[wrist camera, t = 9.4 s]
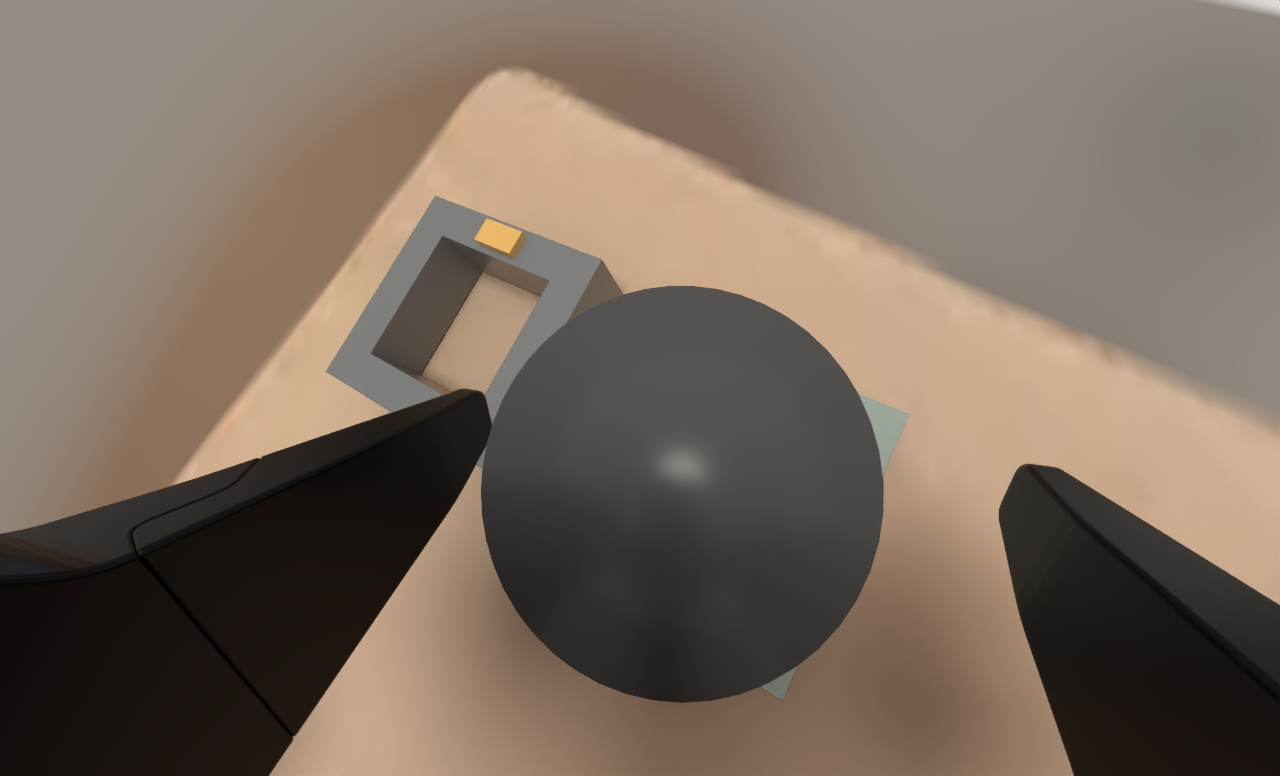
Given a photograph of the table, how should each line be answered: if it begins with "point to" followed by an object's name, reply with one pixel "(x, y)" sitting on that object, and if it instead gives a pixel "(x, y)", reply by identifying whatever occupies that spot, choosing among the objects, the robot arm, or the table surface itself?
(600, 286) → the grey square holder
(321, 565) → the robot arm
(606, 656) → the white capped cylinder
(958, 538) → the table surface
